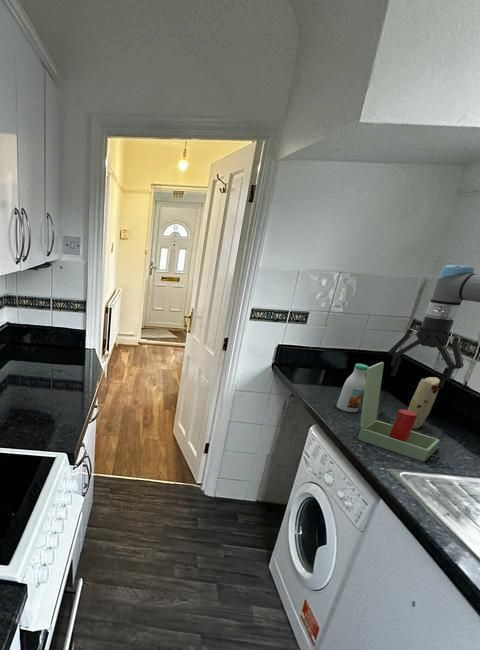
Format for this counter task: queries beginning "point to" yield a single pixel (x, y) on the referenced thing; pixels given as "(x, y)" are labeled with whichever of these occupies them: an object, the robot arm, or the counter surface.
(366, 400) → the lid
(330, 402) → the counter surface
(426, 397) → the food model
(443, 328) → the robot arm
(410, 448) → the green open box
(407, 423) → the tin
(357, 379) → the milk bottle
